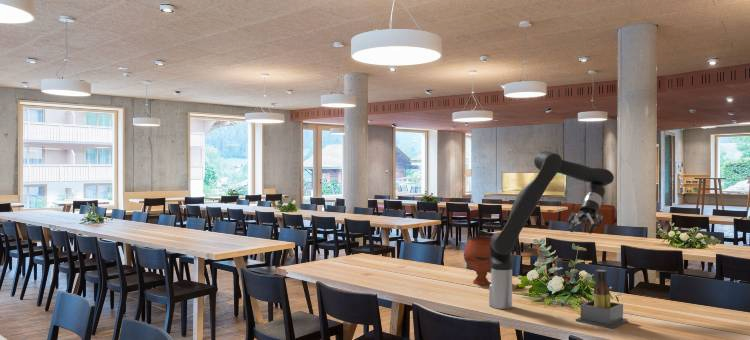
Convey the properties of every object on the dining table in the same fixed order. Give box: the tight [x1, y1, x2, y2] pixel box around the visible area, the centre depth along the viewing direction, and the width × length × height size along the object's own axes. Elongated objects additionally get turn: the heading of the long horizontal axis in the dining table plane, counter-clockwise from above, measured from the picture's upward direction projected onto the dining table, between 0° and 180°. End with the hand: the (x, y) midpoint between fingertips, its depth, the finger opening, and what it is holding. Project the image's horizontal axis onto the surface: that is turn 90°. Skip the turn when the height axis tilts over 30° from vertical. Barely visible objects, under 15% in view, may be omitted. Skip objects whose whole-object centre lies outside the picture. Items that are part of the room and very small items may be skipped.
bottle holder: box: [575, 298, 629, 329], centre depth 226 cm, size 15×15×7 cm
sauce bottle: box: [593, 269, 611, 309], centre depth 226 cm, size 6×6×20 cm
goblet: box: [463, 235, 492, 285], centre depth 302 cm, size 19×19×25 cm
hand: (580, 231), depth 244 cm, fingers open, 8 cm apart
